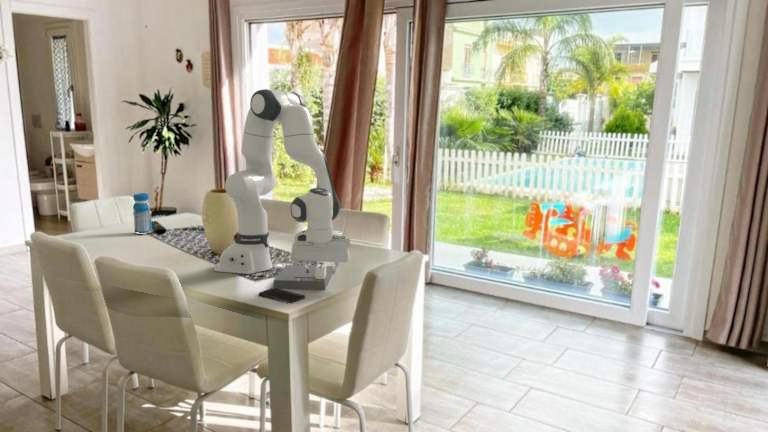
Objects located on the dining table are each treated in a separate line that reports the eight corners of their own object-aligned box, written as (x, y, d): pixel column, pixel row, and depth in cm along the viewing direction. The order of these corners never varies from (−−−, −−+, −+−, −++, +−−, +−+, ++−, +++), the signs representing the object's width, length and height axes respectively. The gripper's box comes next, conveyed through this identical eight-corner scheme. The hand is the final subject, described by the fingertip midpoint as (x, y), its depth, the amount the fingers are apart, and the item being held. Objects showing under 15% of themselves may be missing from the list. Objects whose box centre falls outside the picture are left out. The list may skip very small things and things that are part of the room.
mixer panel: (273, 288, 201) (273, 279, 201) (286, 272, 221) (286, 264, 220) (325, 289, 200) (324, 281, 200) (332, 273, 220) (332, 265, 219)
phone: (273, 287, 200) (306, 295, 191) (273, 290, 200) (306, 298, 192) (256, 293, 193) (290, 301, 185) (256, 296, 193) (290, 305, 185)
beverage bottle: (141, 236, 282) (138, 195, 278) (130, 234, 286) (128, 194, 283) (156, 233, 289) (153, 193, 285) (145, 231, 293) (143, 192, 290)
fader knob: (315, 279, 201) (315, 267, 201) (318, 275, 206) (317, 263, 206) (324, 279, 201) (324, 267, 200) (326, 275, 206) (326, 264, 205)
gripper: (350, 233, 204) (350, 271, 206) (293, 232, 205) (294, 270, 207) (348, 237, 197) (348, 276, 200) (289, 236, 198) (290, 275, 201)
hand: (320, 273), depth 203 cm, fingers open, 8 cm apart
